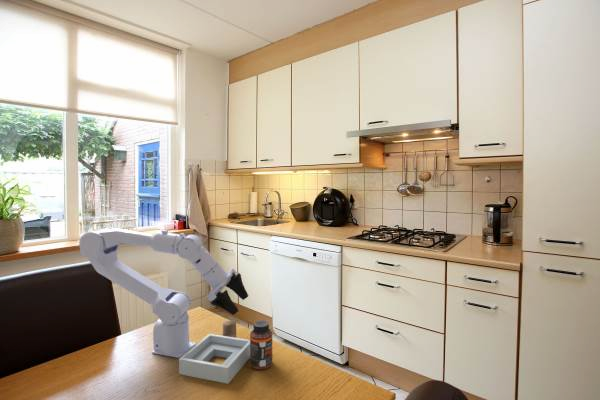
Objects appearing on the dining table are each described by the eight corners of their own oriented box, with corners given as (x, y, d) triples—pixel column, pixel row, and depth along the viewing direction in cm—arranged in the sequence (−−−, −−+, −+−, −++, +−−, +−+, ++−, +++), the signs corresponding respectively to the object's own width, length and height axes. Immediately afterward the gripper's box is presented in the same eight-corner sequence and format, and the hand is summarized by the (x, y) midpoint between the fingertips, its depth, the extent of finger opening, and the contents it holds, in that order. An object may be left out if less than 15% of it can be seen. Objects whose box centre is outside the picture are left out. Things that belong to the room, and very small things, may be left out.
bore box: (179, 374, 83) (178, 358, 82) (209, 346, 96) (209, 333, 96) (228, 383, 79) (227, 368, 78) (252, 353, 92) (252, 340, 92)
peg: (220, 344, 97) (220, 325, 97) (227, 338, 101) (226, 319, 101) (232, 346, 96) (232, 327, 96) (238, 340, 100) (238, 321, 100)
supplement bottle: (268, 372, 83) (268, 329, 83) (246, 369, 85) (246, 327, 84) (275, 359, 89) (274, 319, 89) (254, 357, 90) (254, 317, 90)
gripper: (207, 275, 85) (240, 313, 86) (230, 252, 99) (258, 285, 100) (190, 288, 88) (223, 325, 89) (215, 264, 101) (243, 296, 102)
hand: (241, 305), depth 94 cm, fingers open, 7 cm apart
